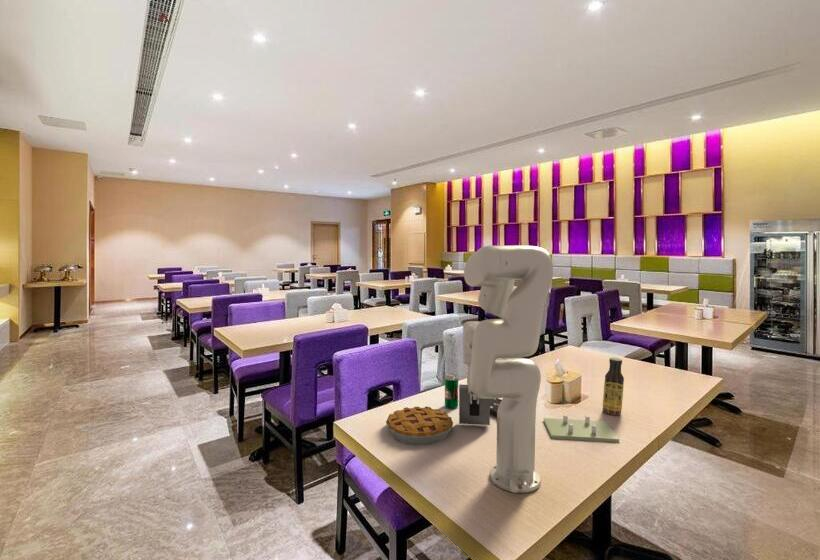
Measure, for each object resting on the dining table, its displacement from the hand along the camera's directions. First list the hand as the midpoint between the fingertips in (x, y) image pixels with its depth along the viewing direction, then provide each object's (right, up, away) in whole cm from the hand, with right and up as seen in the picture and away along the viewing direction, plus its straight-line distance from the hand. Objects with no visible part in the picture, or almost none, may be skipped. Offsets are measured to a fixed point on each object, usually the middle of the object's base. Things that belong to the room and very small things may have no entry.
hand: (474, 412), depth 135 cm
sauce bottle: (+52, -4, +11) cm, 53 cm away
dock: (+34, -5, -4) cm, 34 cm away
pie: (-19, -5, -3) cm, 19 cm away
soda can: (-6, -4, +17) cm, 18 cm away
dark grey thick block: (0, -3, 0) cm, 3 cm away
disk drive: (+11, -4, +12) cm, 17 cm away
